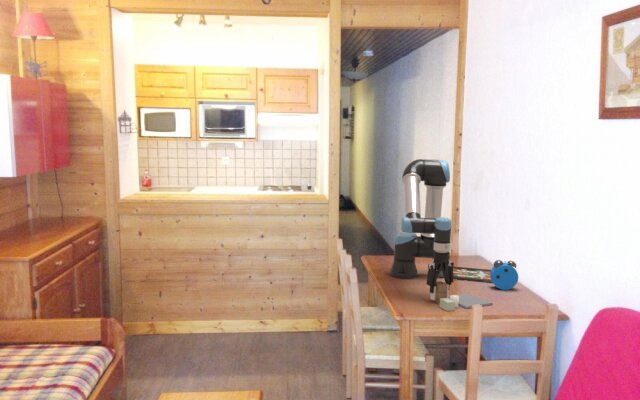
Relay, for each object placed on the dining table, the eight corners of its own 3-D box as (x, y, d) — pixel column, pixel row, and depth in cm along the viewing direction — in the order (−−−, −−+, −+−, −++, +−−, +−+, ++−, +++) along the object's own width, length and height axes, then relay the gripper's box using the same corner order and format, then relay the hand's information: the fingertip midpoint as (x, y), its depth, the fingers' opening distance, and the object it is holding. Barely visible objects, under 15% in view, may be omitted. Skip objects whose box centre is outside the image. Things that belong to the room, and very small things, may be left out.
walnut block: (430, 300, 254) (431, 281, 253) (438, 299, 256) (439, 280, 255) (437, 303, 250) (438, 284, 249) (445, 302, 252) (446, 283, 251)
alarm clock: (514, 287, 280) (516, 259, 278) (517, 291, 274) (520, 262, 272) (488, 286, 281) (490, 258, 279) (491, 289, 275) (493, 261, 273)
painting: (436, 268, 320) (436, 264, 320) (497, 273, 313) (497, 269, 313) (436, 279, 293) (437, 275, 293) (503, 285, 286) (504, 280, 286)
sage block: (439, 307, 245) (439, 298, 245) (446, 306, 246) (447, 297, 246) (446, 311, 239) (447, 302, 239) (454, 310, 241) (454, 301, 240)
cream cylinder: (447, 305, 247) (448, 295, 246) (454, 304, 249) (455, 294, 248) (453, 308, 243) (454, 297, 243) (460, 307, 245) (461, 296, 245)
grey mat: (443, 298, 257) (443, 296, 257) (468, 295, 264) (468, 293, 264) (466, 309, 243) (466, 306, 243) (492, 304, 250) (492, 302, 250)
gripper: (429, 254, 242) (427, 303, 246) (463, 250, 251) (460, 297, 255) (419, 251, 249) (417, 298, 252) (452, 247, 258) (450, 293, 261)
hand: (439, 298), depth 253 cm, fingers open, 7 cm apart
